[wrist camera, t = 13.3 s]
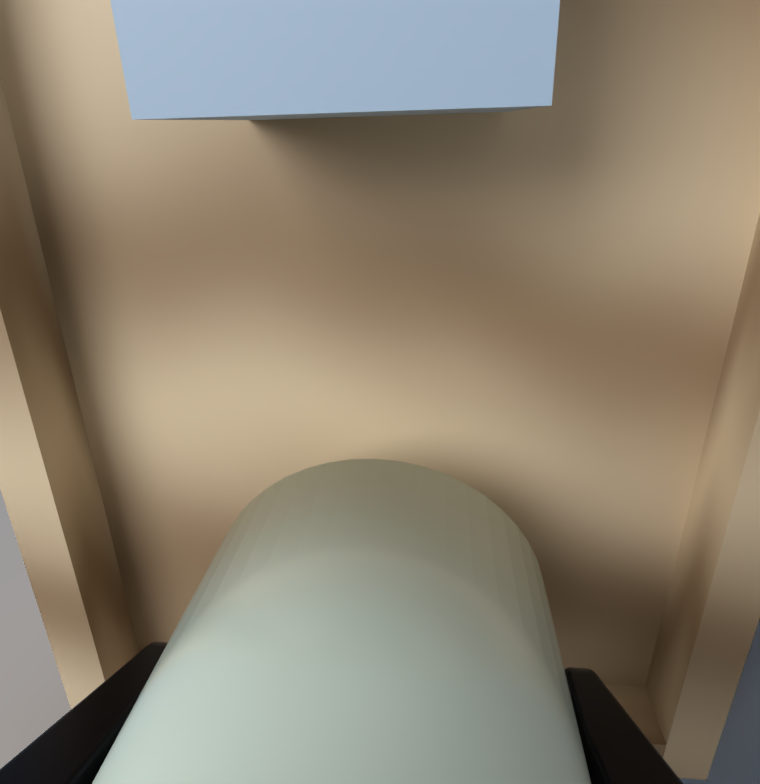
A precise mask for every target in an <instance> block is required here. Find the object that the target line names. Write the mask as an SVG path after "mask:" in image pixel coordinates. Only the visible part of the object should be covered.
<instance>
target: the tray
mask: <svg viewBox="0 0 760 784" xmlns="http://www.w3.org/2000/svg"><path fill="white" fill-rule="evenodd" d="M350 459H383V460H393V461H401V462H406V463H411V464H415V465H420V466H424V467H427V468H430V469H433V470H436V471H439V472H442V473H445V474H447V475H449V476H451V477H453V478H455V479H458V480H460V481H462V482H464V483H466V484H468V485H469V486H471V487H472V488H474V489H476V490H477V491H479V492H480V493H482V494H484V495H485V496H486V497H488V498H489V499H490V500H491V501H492V502H494V503H495V504H496V505H497V506H499V507H500V508H501V509H502V510H503V511H504V512H505V513H506V514H507V515H508V516H509V517H510V518H511V519H512V521H513V522H514V523H515V524H516V525H517V526H518V528H519V529H520V530H521V532H522V533H523V535H524V536H525V538H526V539H527V541H528V542H529V544H530V546H531V548H532V550H533V552H534V554H535V556H536V558H537V561H538V564H539V567H540V571H541V574H542V577H543V581H544V586H545V590H546V594H547V598H548V603H549V607H550V611H551V615H552V619H553V624H554V628H555V632H556V636H557V640H558V645H559V649H560V653H561V657H562V662H563V666H564V670H565V669H566V668H568V667H573V668H588V669H591V670H593V671H594V672H595V673H596V674H597V675H598V677H599V678H600V679H601V680H602V682H603V683H604V684H605V685H606V687H607V688H608V689H609V690H610V692H611V693H612V694H613V695H614V697H615V698H616V699H617V701H618V702H619V703H620V704H621V706H622V707H623V708H624V709H625V711H626V712H627V713H628V714H629V716H630V717H631V718H632V719H633V721H634V722H635V723H636V725H637V726H638V727H639V728H640V730H641V731H642V732H643V733H644V735H645V736H646V737H647V738H648V740H649V741H650V742H651V743H652V745H653V746H654V747H655V749H656V750H657V751H658V752H659V754H660V755H661V756H662V757H663V759H664V760H665V761H666V762H667V764H668V765H669V766H670V767H671V769H672V770H673V771H674V773H675V774H676V775H677V776H678V778H688V779H701V780H707V777H708V774H709V771H710V768H711V765H712V762H713V759H714V756H715V753H716V750H717V747H718V743H719V740H720V737H721V734H722V731H723V728H724V725H725V722H726V719H727V716H728V713H729V710H730V707H731V704H732V701H733V698H734V695H735V692H736V689H737V686H738V683H739V680H740V677H741V674H742V671H743V668H744V665H745V662H746V659H747V656H748V653H749V650H750V647H751V644H752V641H753V638H754V635H755V632H756V629H757V626H758V622H759V619H760V0H560V8H559V20H558V33H557V45H556V58H555V70H554V83H553V95H552V106H545V107H537V108H530V109H523V110H515V111H508V112H485V113H455V114H424V115H394V116H363V117H333V118H302V119H272V120H132V118H131V112H130V107H129V101H128V96H127V90H126V85H125V79H124V73H123V68H122V62H121V57H120V51H119V46H118V40H117V35H116V29H115V24H114V18H113V13H112V7H111V2H110V0H0V489H1V492H2V495H3V498H4V502H5V505H6V508H7V511H8V514H9V517H10V520H11V523H12V526H13V529H14V533H15V535H16V539H17V542H18V545H19V548H20V551H21V554H22V558H23V561H24V564H25V567H26V570H27V573H28V576H29V579H30V582H31V585H32V589H33V592H34V595H35V598H36V601H37V604H38V607H39V610H40V613H41V616H42V620H43V623H44V626H45V629H46V632H47V635H48V638H49V641H50V644H51V648H52V651H53V654H54V657H55V660H56V663H57V666H58V669H59V672H60V675H61V678H62V681H63V685H64V688H65V690H66V694H67V697H68V700H69V703H70V706H71V709H72V708H74V707H75V706H76V705H77V704H78V703H80V702H81V701H82V700H83V699H84V698H86V697H87V696H88V695H89V694H90V693H91V692H93V691H94V690H95V689H96V688H97V687H99V686H100V685H101V684H102V683H103V682H104V681H106V680H107V679H108V678H109V677H110V676H112V675H113V674H114V673H115V672H116V671H118V670H119V669H120V668H121V667H122V666H123V665H125V664H126V663H127V662H128V661H129V660H131V659H132V658H133V657H134V656H135V655H137V654H138V653H139V652H140V651H141V650H142V649H144V648H145V647H146V646H147V645H149V644H150V643H152V642H156V641H159V642H169V640H170V638H171V636H172V634H173V632H174V631H175V629H176V627H177V625H178V623H179V621H180V620H181V618H182V616H183V614H184V612H185V610H186V608H187V607H188V605H189V603H190V601H191V599H192V597H193V595H194V594H195V592H196V590H197V588H198V586H199V584H200V582H201V581H202V579H203V577H204V575H205V573H206V571H207V570H208V568H209V566H210V564H211V562H212V560H213V558H214V557H215V555H216V553H217V551H218V549H219V547H220V545H221V544H222V542H223V540H224V538H225V536H226V534H227V533H228V531H229V529H230V527H231V526H232V524H233V523H234V521H235V520H236V518H237V517H238V515H239V514H240V513H241V512H242V510H243V509H244V508H245V507H246V506H247V505H248V504H249V503H250V502H251V501H252V500H253V499H254V498H255V497H256V496H258V495H259V494H260V493H262V492H263V491H264V490H265V489H267V488H268V487H269V486H271V485H273V484H275V483H276V482H278V481H280V480H281V479H283V478H285V477H287V476H289V475H292V474H294V473H296V472H299V471H301V470H304V469H306V468H310V467H313V466H317V465H321V464H325V463H329V462H336V461H343V460H350Z"/></svg>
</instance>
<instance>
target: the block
mask: <svg viewBox="0 0 760 784" xmlns="http://www.w3.org/2000/svg"><path fill="white" fill-rule="evenodd" d="M110 2H111V7H112V13H113V18H114V24H115V29H116V35H117V40H118V46H119V51H120V57H121V62H122V68H123V73H124V79H125V85H126V90H127V96H128V101H129V107H130V112H131V118H132V120H272V119H302V118H333V117H363V116H394V115H424V114H455V113H485V112H508V111H515V110H523V109H530V108H537V107H545V106H552V95H553V83H554V70H555V58H556V45H557V33H558V20H559V8H560V0H110Z"/></svg>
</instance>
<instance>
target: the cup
mask: <svg viewBox="0 0 760 784" xmlns="http://www.w3.org/2000/svg"><path fill="white" fill-rule="evenodd" d="M92 784H591V780H590V775H589V771H588V767H587V763H586V758H585V754H584V750H583V746H582V742H581V737H580V733H579V729H578V725H577V721H576V716H575V712H574V708H573V704H572V699H571V695H570V691H569V687H568V683H567V678H566V674H565V670H564V666H563V662H562V657H561V653H560V649H559V645H558V640H557V636H556V632H555V628H554V624H553V619H552V615H551V611H550V607H549V603H548V598H547V594H546V590H545V586H544V581H543V577H542V574H541V571H540V567H539V564H538V561H537V558H536V556H535V554H534V552H533V550H532V548H531V546H530V544H529V542H528V541H527V539H526V538H525V536H524V535H523V533H522V532H521V530H520V529H519V528H518V526H517V525H516V524H515V523H514V522H513V521H512V519H511V518H510V517H509V516H508V515H507V514H506V513H505V512H504V511H503V510H502V509H501V508H500V507H499V506H497V505H496V504H495V503H494V502H492V501H491V500H490V499H489V498H488V497H486V496H485V495H484V494H482V493H480V492H479V491H477V490H476V489H474V488H472V487H471V486H469V485H468V484H466V483H464V482H462V481H460V480H458V479H455V478H453V477H451V476H449V475H447V474H445V473H442V472H439V471H436V470H433V469H430V468H427V467H424V466H420V465H415V464H411V463H406V462H401V461H393V460H383V459H350V460H343V461H336V462H329V463H325V464H321V465H317V466H313V467H310V468H306V469H304V470H301V471H299V472H296V473H294V474H292V475H289V476H287V477H285V478H283V479H281V480H280V481H278V482H276V483H275V484H273V485H271V486H269V487H268V488H267V489H265V490H264V491H263V492H262V493H260V494H259V495H258V496H256V497H255V498H254V499H253V500H252V501H251V502H250V503H249V504H248V505H247V506H246V507H245V508H244V509H243V510H242V512H241V513H240V514H239V515H238V517H237V518H236V520H235V521H234V523H233V524H232V526H231V527H230V529H229V531H228V533H227V534H226V536H225V538H224V540H223V542H222V544H221V545H220V547H219V549H218V551H217V553H216V555H215V557H214V558H213V560H212V562H211V564H210V566H209V568H208V570H207V571H206V573H205V575H204V577H203V579H202V581H201V582H200V584H199V586H198V588H197V590H196V592H195V594H194V595H193V597H192V599H191V601H190V603H189V605H188V607H187V608H186V610H185V612H184V614H183V616H182V618H181V620H180V621H179V623H178V625H177V627H176V629H175V631H174V632H173V634H172V636H171V638H170V640H169V642H168V644H167V645H166V647H165V649H164V651H163V653H162V655H161V657H160V658H159V660H158V662H157V664H156V666H155V668H154V669H153V671H152V673H151V675H150V677H149V679H148V681H147V682H146V684H145V686H144V688H143V690H142V692H141V694H140V695H139V697H138V699H137V701H136V703H135V705H134V706H133V708H132V710H131V712H130V714H129V716H128V718H127V719H126V721H125V723H124V725H123V727H122V729H121V731H120V732H119V734H118V736H117V738H116V740H115V742H114V743H113V745H112V747H111V749H110V751H109V753H108V755H107V756H106V758H105V760H104V762H103V764H102V766H101V768H100V769H99V771H98V773H97V775H96V777H95V779H94V780H93V782H92Z"/></svg>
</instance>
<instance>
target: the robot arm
mask: <svg viewBox="0 0 760 784" xmlns="http://www.w3.org/2000/svg"><path fill="white" fill-rule="evenodd" d="M167 644H168V642H159V641H156V642H152V643H150V644H149V645H147V646H146V647H145V648H144V649H142V650H141V651H140V652H139V653H138V654H137V655H135V656H134V657H133V658H132V659H131V660H129V661H128V662H127V663H126V664H125V665H123V666H122V667H121V668H120V669H119V670H118V671H116V672H115V673H114V674H113V675H112V676H110V677H109V678H108V679H107V680H106V681H104V682H103V683H102V684H101V685H100V686H99V687H97V688H96V689H95V690H94V691H93V692H91V693H90V694H89V695H88V696H87V697H86V698H84V699H83V700H82V701H81V702H80V703H78V704H77V705H76V706H75V707H74V708H72V709H71V710H70V711H69V712H68V713H67V714H65V715H64V716H63V717H62V718H61V719H59V720H58V721H57V722H56V723H55V724H54V725H52V726H51V727H50V728H49V729H48V730H46V731H45V732H44V733H43V734H42V735H40V736H39V737H38V738H37V739H36V740H35V741H33V742H32V743H31V744H30V745H29V746H27V748H25V749H24V750H23V751H21V752H20V753H19V754H18V755H17V756H16V757H14V758H13V759H12V760H11V761H10V762H8V763H7V764H6V765H5V766H4V767H2V768H1V769H0V784H92V782H93V780H94V779H95V777H96V775H97V773H98V771H99V769H100V768H101V766H102V764H103V762H104V760H105V758H106V756H107V755H108V753H109V751H110V749H111V747H112V745H113V743H114V742H115V740H116V738H117V736H118V734H119V732H120V731H121V729H122V727H123V725H124V723H125V721H126V719H127V718H128V716H129V714H130V712H131V710H132V708H133V706H134V705H135V703H136V701H137V699H138V697H139V695H140V694H141V692H142V690H143V688H144V686H145V684H146V682H147V681H148V679H149V677H150V675H151V673H152V671H153V669H154V668H155V666H156V664H157V662H158V660H159V658H160V657H161V655H162V653H163V651H164V649H165V647H166V645H167ZM565 674H566V678H567V683H568V687H569V691H570V695H571V699H572V704H573V708H574V712H575V716H576V721H577V725H578V729H579V733H580V737H581V742H582V746H583V750H584V754H585V758H586V763H587V767H588V771H589V775H590V780H591V784H683V783H682V781H681V780H680V779H679V778H678V776H677V775H676V774H675V773H674V771H673V770H672V769H671V767H670V766H669V765H668V764H667V762H666V761H665V760H664V759H663V757H662V756H661V755H660V754H659V752H658V751H657V750H656V749H655V747H654V746H653V745H652V743H651V742H650V741H649V740H648V738H647V737H646V736H645V735H644V733H643V732H642V731H641V730H640V728H639V727H638V726H637V725H636V723H635V722H634V721H633V719H632V718H631V717H630V716H629V714H628V713H627V712H626V711H625V709H624V708H623V707H622V706H621V704H620V703H619V702H618V701H617V699H616V698H615V697H614V695H613V694H612V693H611V692H610V690H609V689H608V688H607V687H606V685H605V684H604V683H603V682H602V680H601V679H600V678H599V677H598V675H597V674H596V673H595V672H594V671H593V670H591V669H588V668H573V667H568V668H566V669H565Z"/></svg>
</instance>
